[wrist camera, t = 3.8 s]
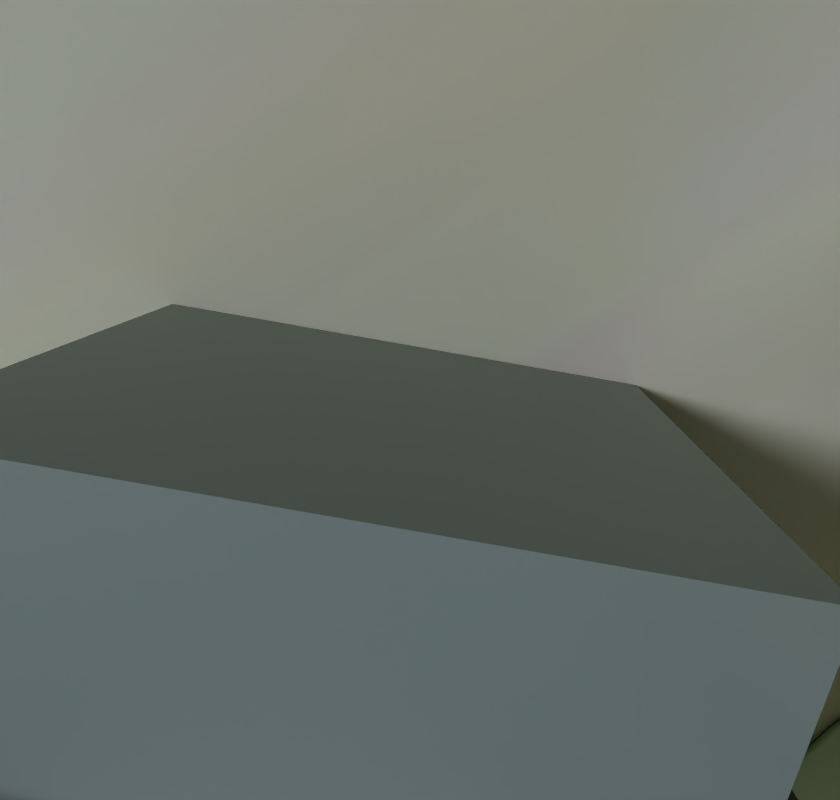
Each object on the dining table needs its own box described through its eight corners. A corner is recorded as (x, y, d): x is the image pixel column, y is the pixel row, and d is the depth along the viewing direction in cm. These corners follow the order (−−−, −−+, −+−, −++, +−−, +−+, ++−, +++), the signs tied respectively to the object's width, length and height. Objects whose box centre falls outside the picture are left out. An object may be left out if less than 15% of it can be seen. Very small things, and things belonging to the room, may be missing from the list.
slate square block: (172, 304, 15) (-163, 430, 7) (636, 385, 16) (862, 608, 7) (142, 697, 18) (-124, 1130, 10) (536, 765, 18) (612, 1252, 10)
